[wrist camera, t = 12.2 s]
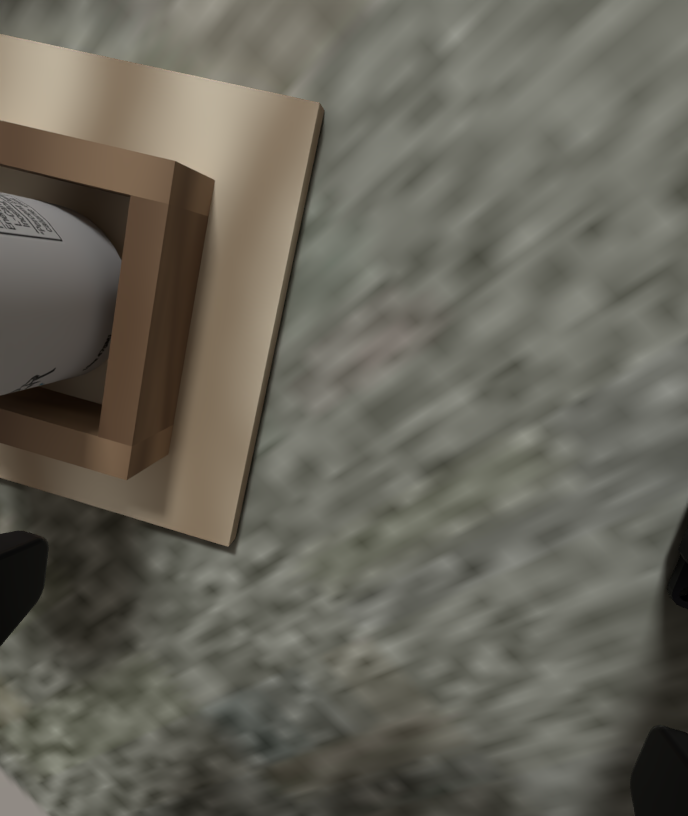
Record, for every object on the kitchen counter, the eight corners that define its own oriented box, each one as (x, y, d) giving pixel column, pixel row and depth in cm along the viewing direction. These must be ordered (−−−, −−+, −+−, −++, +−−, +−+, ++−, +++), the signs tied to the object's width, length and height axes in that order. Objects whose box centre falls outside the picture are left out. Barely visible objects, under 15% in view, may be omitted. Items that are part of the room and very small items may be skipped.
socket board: (324, 110, 19) (297, 67, 15) (235, 538, 23) (196, 586, 19) (-100, 18, 20) (-217, -41, 17) (-117, 432, 24) (-215, 458, 21)
